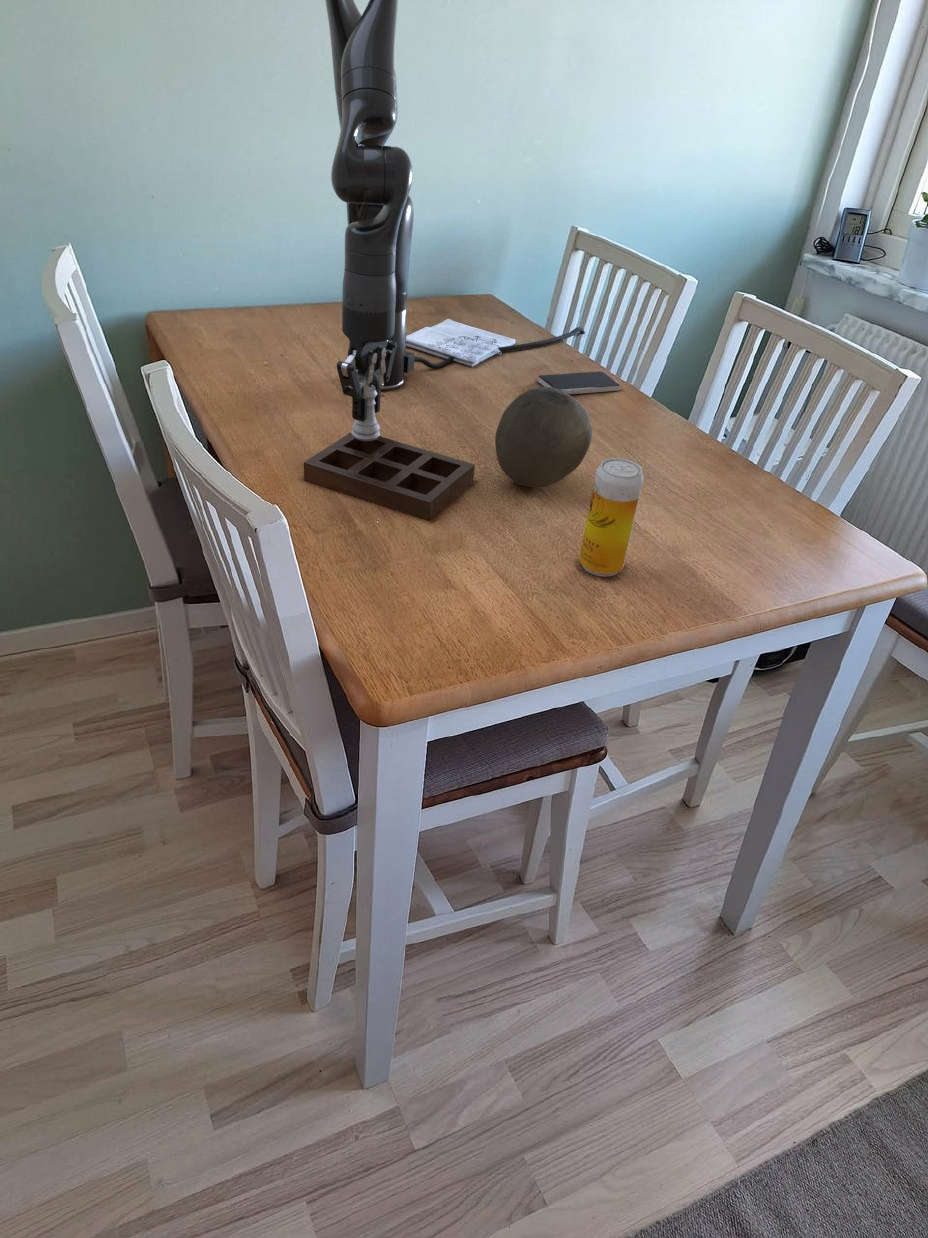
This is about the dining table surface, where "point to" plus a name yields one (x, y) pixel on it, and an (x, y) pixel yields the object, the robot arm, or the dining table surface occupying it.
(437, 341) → the white paper booklet
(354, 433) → the rook chess piece
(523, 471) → the cantaloupe
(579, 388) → the smartphone
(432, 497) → the open grid frame
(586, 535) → the beer can
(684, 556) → the dining table surface
